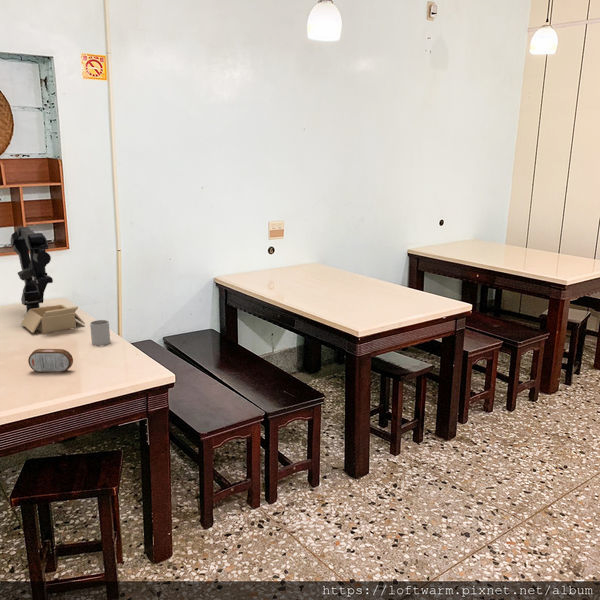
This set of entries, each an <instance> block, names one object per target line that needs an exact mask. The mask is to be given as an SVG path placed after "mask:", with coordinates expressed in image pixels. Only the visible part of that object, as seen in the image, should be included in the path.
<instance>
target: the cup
mask: <svg viewBox="0 0 600 600" xmlns="http://www.w3.org/2000/svg"><path fill="white" fill-rule="evenodd" d="M89 326H90V335H91V336H90V337H91V344H92V345H93V346H95V345H96V347H101V346H100V345H104V346H107V345H109V344H110V343H111V334H110V332H111V331H110V321H109V320H106V319H97V320H93V321H91V322H89Z"/></svg>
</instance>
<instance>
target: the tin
mask: <svg viewBox="0 0 600 600" xmlns="http://www.w3.org/2000/svg"><path fill="white" fill-rule="evenodd" d="M27 362H28V365H29V367H30V368H31V370H33V371H34V372H37V373H41V374H42V373H43V372H46V373H47V372H61V373H65V372H67V371H68V370H69V369H70V368H71V367H72V366H73V365H74V359H73V356H72V354H71V353H70V352H69V351H68V350H66V349H64V348H37V349H35V350H33V351H32V352H31V353H30V355H29V356H28V361H27Z"/></svg>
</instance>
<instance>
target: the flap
mask: <svg viewBox="0 0 600 600" xmlns="http://www.w3.org/2000/svg"><path fill="white" fill-rule="evenodd" d="M78 309H79V306H72V307H67V308H64V309H58V310H51V311H46V312H45V313H44V315H43V316H42V317H43V318H45V317H51V316H58V315H64V314H70V313H76V312H77V310H78Z"/></svg>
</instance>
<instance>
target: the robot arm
mask: <svg viewBox="0 0 600 600" xmlns="http://www.w3.org/2000/svg"><path fill="white" fill-rule="evenodd" d="M10 245H11V247H12V248H13V252H15V253H16V254H17V255H18V258H19V263H20V268H21V270H20V271H18V272H17V275H18V277H19V279H20V280H21V281H22V282H23V281H24V286H23V288H22V293H21V299H20V301H21V304H22V305H23V306H24V307H26V313H27V312H28V311H29V310H30V309H34V308H40V304H43V303H44V296H45V291H46V288H47V285H48V284H52V283H53V281H54V280H53V277H51V276H50V275H48V272H47V271H46V267H47V265H48V264H49V263H50V262H51V259H52V258H51V257H52V256H51V255H50V254H49V253H48V252H47V251H46V250H48V249H49V246H50V245H49V242H48V239H47V237H46V236H45V235H44V234H43V233H42V232H34V231H33V230H31V229H30V227H29V226H23V227H20V226H19V227H17V228H16V230H15V232H13V233H12V234H11V236H10Z"/></svg>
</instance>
